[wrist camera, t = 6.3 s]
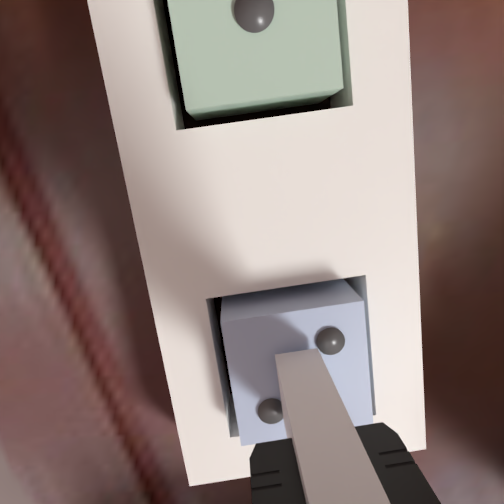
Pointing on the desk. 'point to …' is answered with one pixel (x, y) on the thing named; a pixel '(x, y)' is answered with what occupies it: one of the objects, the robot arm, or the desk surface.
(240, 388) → the tile two
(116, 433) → the desk surface
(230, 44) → the tile one
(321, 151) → the tile panel
